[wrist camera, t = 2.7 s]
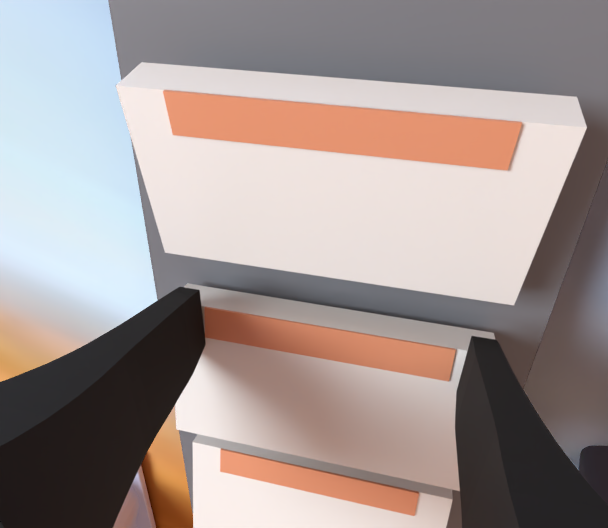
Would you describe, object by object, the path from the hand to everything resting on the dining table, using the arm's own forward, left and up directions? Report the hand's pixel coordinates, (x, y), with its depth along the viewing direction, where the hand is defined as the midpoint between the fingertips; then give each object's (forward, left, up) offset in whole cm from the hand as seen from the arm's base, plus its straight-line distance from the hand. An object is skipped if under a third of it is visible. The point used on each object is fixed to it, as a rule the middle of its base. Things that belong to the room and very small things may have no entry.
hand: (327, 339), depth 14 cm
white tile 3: (+4, 0, 0) cm, 4 cm away
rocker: (-2, 0, 0) cm, 2 cm away
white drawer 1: (-9, 0, 0) cm, 9 cm away
